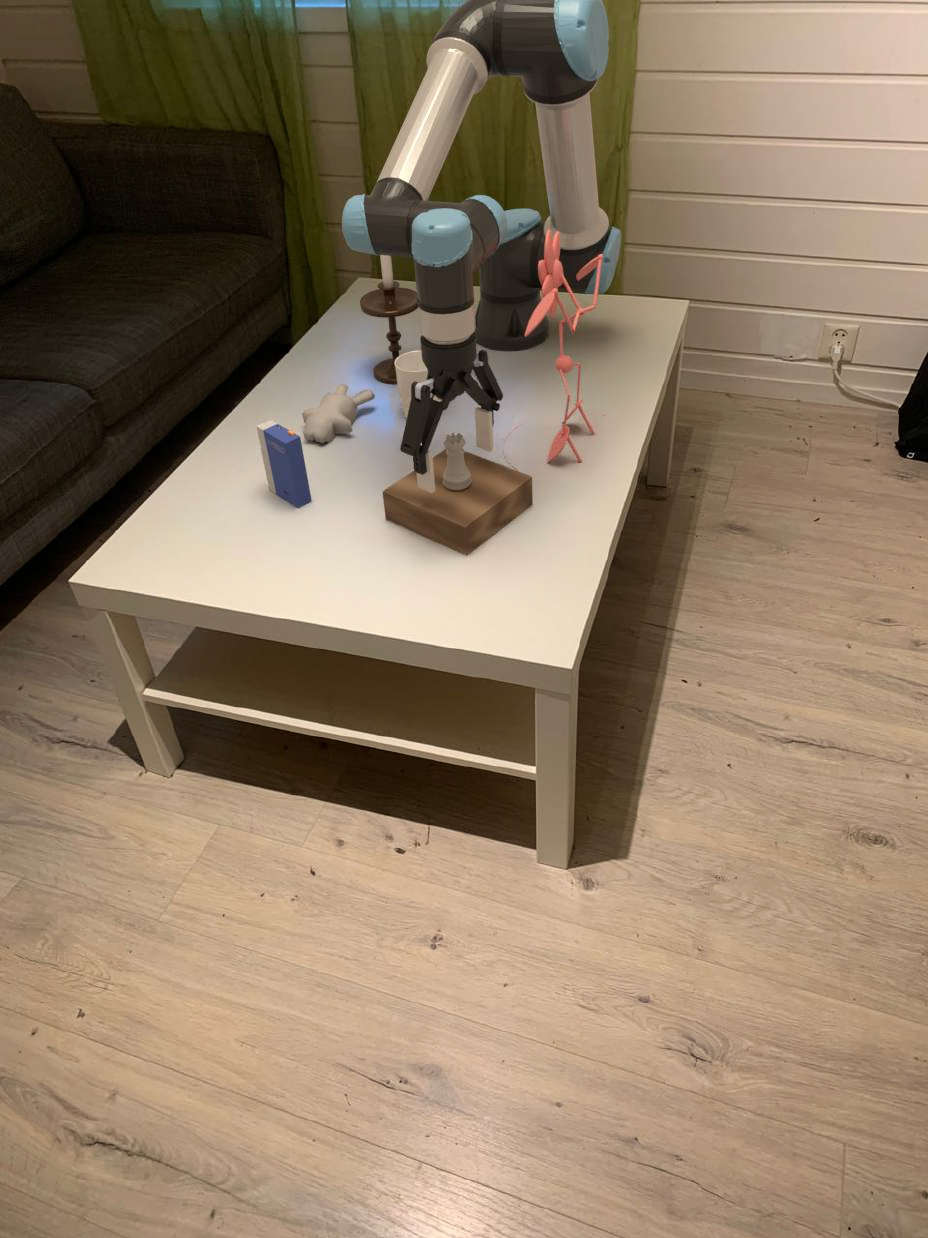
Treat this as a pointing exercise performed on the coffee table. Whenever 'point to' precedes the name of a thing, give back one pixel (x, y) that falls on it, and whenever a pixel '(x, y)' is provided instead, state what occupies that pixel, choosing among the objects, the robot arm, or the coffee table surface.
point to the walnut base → (460, 503)
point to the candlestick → (389, 315)
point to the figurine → (561, 324)
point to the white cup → (409, 376)
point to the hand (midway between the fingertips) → (456, 468)
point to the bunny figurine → (333, 414)
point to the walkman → (284, 463)
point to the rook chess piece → (456, 464)
